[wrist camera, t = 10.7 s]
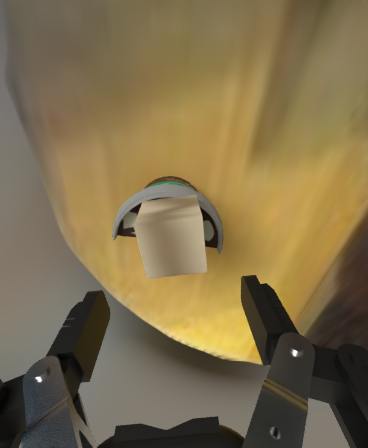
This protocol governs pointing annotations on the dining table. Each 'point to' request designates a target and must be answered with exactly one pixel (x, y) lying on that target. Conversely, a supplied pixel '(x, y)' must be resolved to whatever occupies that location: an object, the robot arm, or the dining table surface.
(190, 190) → the food container
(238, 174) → the dining table surface
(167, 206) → the beige cube
